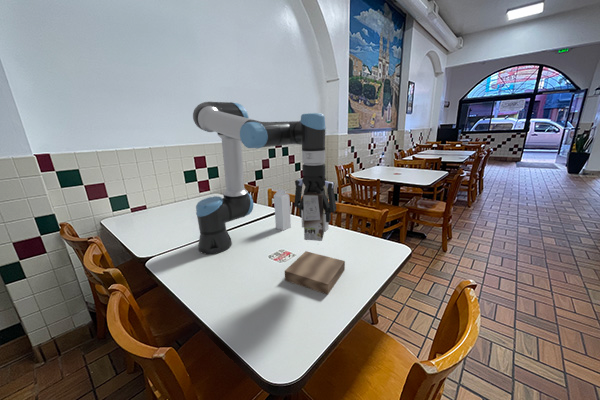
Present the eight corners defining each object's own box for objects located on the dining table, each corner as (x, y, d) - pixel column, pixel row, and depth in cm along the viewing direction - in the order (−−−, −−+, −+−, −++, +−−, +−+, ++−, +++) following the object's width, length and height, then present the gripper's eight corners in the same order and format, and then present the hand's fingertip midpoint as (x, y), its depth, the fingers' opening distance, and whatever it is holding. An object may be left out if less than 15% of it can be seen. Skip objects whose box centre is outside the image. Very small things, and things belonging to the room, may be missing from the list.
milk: (283, 230, 131) (280, 191, 124) (275, 228, 135) (272, 189, 128) (291, 227, 135) (289, 189, 129) (283, 224, 139) (281, 187, 133)
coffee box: (322, 241, 81) (322, 195, 77) (303, 240, 83) (302, 194, 78) (325, 230, 90) (325, 188, 85) (308, 229, 91) (307, 187, 87)
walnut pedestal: (285, 280, 89) (284, 270, 88) (306, 259, 102) (305, 251, 101) (327, 294, 80) (327, 284, 79) (344, 270, 94) (344, 261, 92)
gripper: (281, 163, 81) (284, 227, 87) (339, 166, 71) (338, 237, 77) (293, 160, 87) (295, 220, 94) (348, 163, 77) (346, 229, 84)
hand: (315, 228), depth 86 cm, fingers closed on coffee box, 8 cm apart
